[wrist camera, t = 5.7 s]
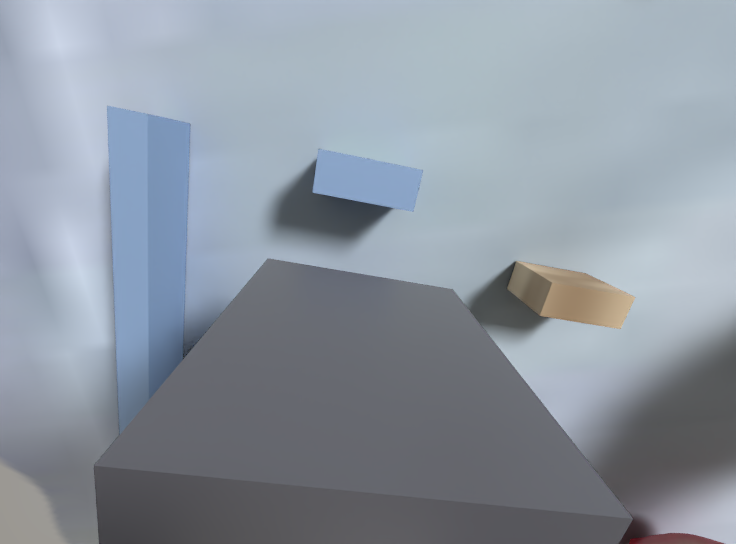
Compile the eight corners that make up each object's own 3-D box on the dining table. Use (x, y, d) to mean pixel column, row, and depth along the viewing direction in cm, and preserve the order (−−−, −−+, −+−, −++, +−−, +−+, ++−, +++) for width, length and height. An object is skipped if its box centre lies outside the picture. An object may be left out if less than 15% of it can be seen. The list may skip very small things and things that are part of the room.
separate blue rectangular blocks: (408, 168, 12) (422, 170, 10) (343, 464, 16) (342, 517, 14) (158, 117, 11) (106, 105, 9) (156, 445, 15) (121, 497, 13)
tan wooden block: (749, -129, 10) (875, -219, 8) (574, 300, 14) (620, 328, 12) (659, -160, 10) (760, -265, 7) (506, 289, 14) (539, 315, 11)
